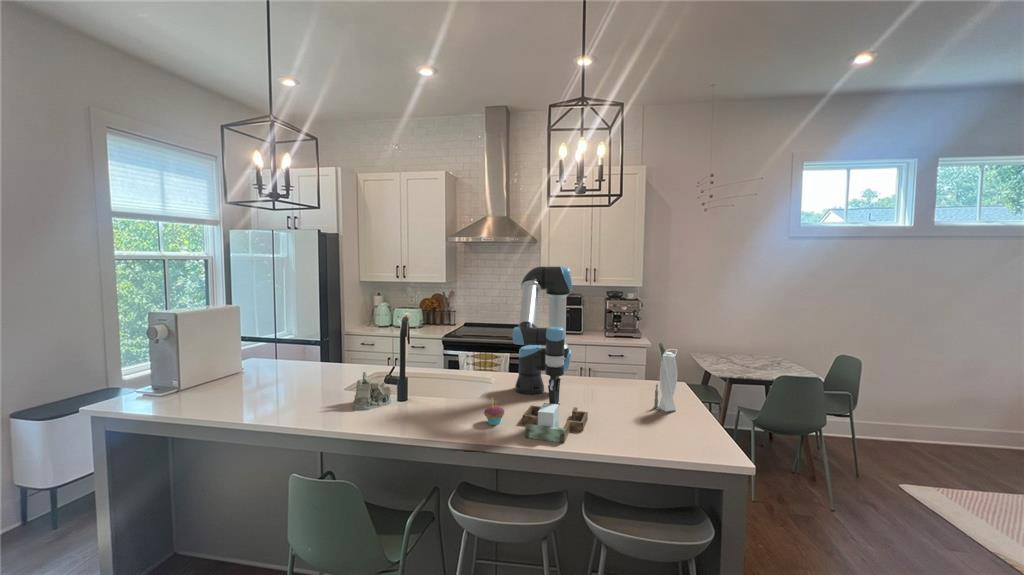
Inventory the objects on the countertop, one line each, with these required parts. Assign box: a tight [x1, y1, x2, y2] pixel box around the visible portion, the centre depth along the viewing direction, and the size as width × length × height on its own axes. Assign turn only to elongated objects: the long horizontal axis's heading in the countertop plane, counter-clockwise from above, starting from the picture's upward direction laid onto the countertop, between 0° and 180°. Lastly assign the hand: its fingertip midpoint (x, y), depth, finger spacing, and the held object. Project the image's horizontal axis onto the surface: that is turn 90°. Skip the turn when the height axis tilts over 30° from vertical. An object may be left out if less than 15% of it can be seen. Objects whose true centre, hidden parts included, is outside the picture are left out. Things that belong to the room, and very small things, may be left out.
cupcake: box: [483, 396, 505, 426], centre depth 179 cm, size 9×8×12 cm
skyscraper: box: [653, 348, 679, 413], centre depth 196 cm, size 8×8×28 cm
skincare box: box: [538, 402, 560, 428], centre depth 169 cm, size 10×6×10 cm, turn 162°
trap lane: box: [522, 405, 589, 444], centre depth 177 cm, size 25×30×5 cm
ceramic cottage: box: [351, 371, 392, 412], centre depth 200 cm, size 16×16×15 cm
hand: (553, 421), depth 177 cm, fingers closed
